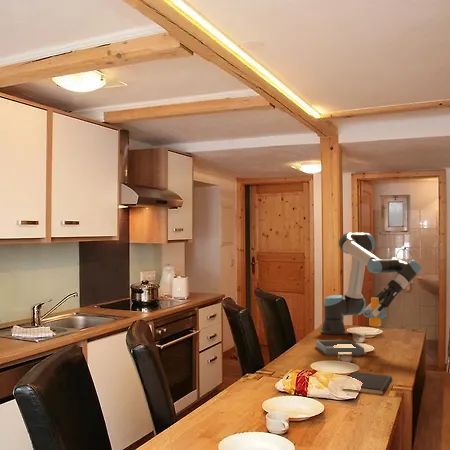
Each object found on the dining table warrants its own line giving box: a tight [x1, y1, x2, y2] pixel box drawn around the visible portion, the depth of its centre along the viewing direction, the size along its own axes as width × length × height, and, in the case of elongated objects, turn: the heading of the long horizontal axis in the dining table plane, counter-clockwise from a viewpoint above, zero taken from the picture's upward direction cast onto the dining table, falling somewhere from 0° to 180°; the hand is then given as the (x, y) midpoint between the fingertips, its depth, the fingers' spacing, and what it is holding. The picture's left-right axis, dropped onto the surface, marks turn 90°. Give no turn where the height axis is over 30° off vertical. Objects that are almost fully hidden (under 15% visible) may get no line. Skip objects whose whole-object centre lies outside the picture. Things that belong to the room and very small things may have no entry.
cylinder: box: [362, 296, 388, 328], centre depth 281 cm, size 12×10×15 cm
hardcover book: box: [349, 371, 393, 395], centre depth 216 cm, size 16×23×2 cm
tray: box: [315, 339, 365, 356], centre depth 280 cm, size 20×20×4 cm
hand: (369, 313), depth 281 cm, fingers closed on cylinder, 11 cm apart
